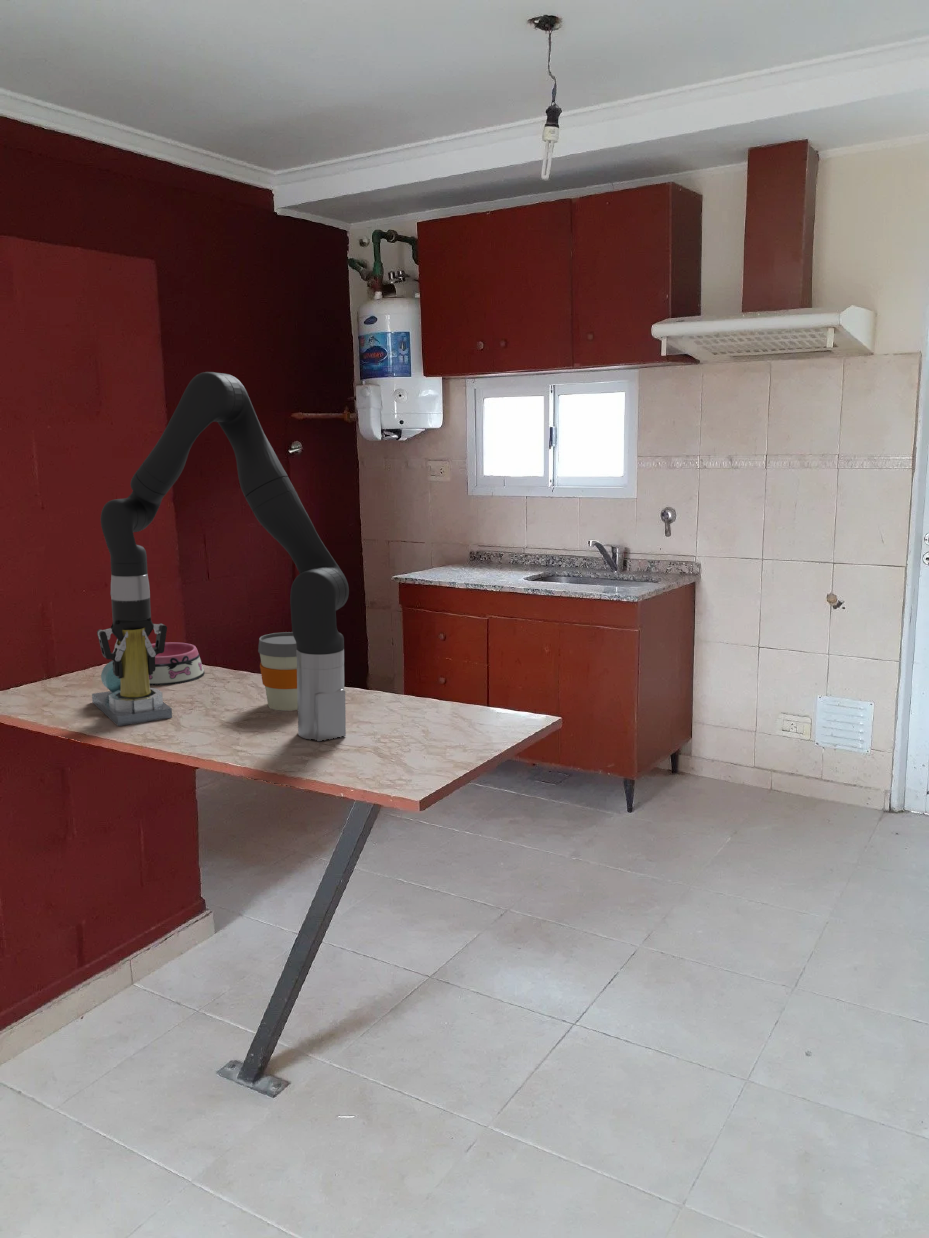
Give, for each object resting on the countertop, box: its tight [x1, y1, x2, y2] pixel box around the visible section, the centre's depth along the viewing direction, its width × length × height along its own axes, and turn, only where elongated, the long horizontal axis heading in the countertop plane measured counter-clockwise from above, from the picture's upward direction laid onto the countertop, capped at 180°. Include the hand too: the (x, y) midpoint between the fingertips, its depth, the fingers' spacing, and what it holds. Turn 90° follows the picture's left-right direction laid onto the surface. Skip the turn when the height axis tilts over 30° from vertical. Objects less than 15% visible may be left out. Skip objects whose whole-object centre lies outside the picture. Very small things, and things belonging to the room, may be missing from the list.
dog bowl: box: [149, 641, 205, 686], centre depth 233 cm, size 18×19×7 cm
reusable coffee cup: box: [257, 631, 298, 712], centre depth 209 cm, size 13×13×15 cm
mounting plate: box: [91, 660, 173, 727], centre depth 204 cm, size 20×11×10 cm, turn 35°
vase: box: [119, 627, 151, 698], centre depth 200 cm, size 6×6×14 cm
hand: (134, 675), depth 200 cm, fingers closed on vase, 5 cm apart
